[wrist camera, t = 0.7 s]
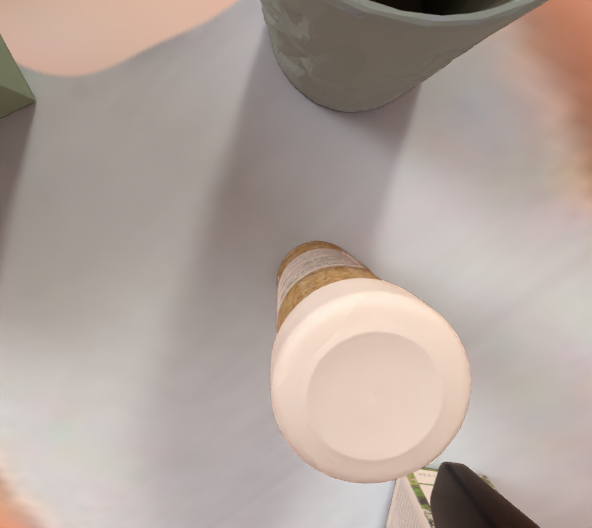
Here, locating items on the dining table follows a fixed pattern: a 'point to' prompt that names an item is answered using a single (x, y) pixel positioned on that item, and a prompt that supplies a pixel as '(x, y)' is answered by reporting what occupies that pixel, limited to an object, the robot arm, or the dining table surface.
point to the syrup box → (414, 500)
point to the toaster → (12, 84)
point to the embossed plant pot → (377, 43)
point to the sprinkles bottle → (362, 370)
